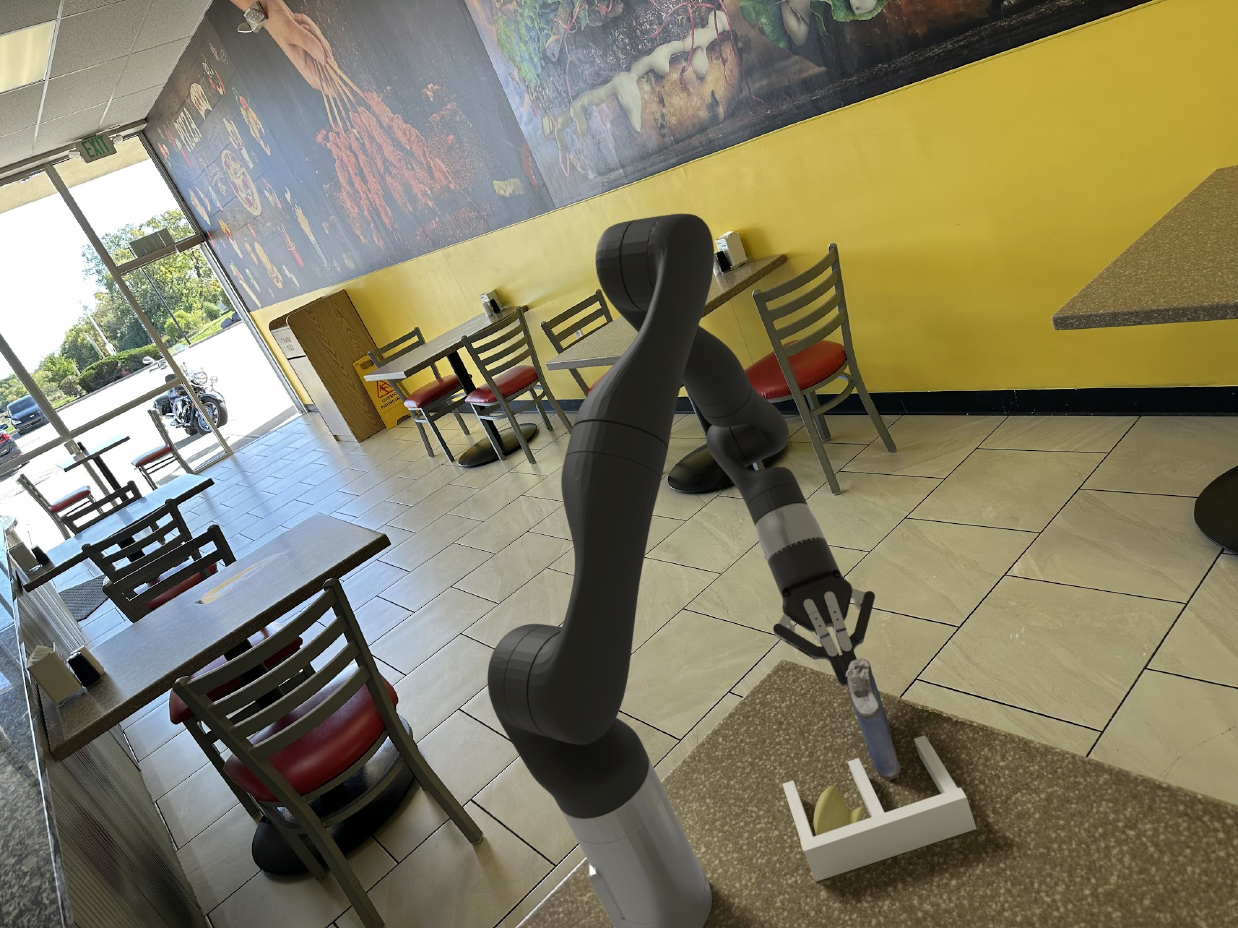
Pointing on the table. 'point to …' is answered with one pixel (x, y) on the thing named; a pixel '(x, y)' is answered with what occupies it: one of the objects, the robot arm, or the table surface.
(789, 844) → the table surface
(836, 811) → the knob
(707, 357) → the robot arm
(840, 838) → the rack
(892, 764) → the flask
